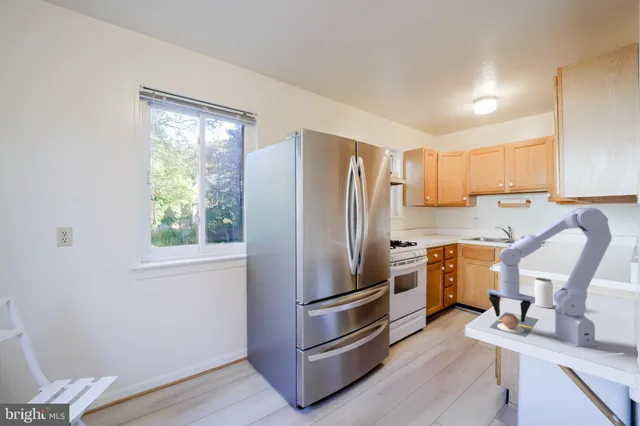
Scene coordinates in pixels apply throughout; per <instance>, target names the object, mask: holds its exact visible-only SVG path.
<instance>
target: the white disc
mask: <svg viewBox="0 0 640 426" xmlns="http://www.w3.org/2000/svg"><path fill="white" fill-rule="evenodd" d="M497 327H498V328H499V329H501V330H504V331H507V332H506V333H508V332H512V333H522V332H524V329H523V328H521V327H519V326H517V327H515V328H508V327H506V326H505V325H504V324H503V323H500V324H498V325H497ZM504 331H503V332H504ZM512 333H511V334H512Z"/></svg>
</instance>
